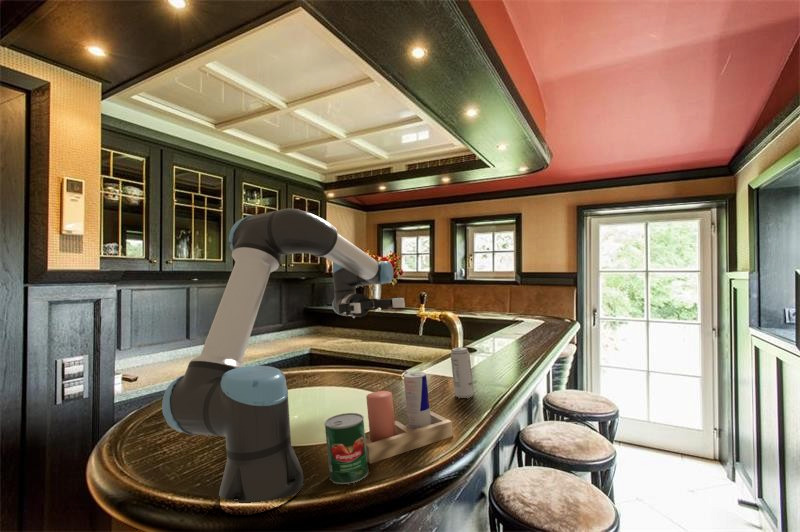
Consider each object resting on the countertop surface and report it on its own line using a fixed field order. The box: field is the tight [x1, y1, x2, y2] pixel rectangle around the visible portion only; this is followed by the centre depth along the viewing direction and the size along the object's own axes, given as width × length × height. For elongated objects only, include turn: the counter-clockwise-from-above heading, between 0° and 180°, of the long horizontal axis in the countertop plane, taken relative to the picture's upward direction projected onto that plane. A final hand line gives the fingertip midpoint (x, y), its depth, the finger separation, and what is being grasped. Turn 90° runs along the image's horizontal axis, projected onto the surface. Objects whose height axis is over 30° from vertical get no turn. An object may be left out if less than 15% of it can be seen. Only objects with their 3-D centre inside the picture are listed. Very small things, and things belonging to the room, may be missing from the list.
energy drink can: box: [450, 346, 475, 399], centre depth 119 cm, size 6×6×15 cm
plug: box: [365, 390, 396, 443], centre depth 87 cm, size 6×6×12 cm
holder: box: [365, 410, 454, 464], centre depth 89 cm, size 22×10×4 cm, turn 117°
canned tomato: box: [324, 412, 369, 485], centre depth 76 cm, size 8×8×11 cm
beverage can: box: [403, 371, 431, 430], centre depth 92 cm, size 6×6×15 cm
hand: (382, 305), depth 105 cm, fingers open, 13 cm apart
